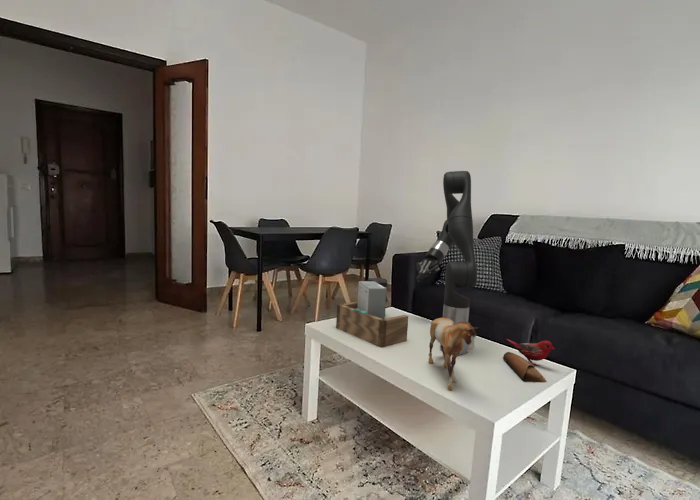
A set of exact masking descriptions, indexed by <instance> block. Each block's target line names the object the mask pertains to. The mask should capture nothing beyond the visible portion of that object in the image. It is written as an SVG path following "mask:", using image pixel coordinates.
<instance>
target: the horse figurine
mask: <svg viewBox="0 0 700 500" xmlns="http://www.w3.org/2000/svg"><path fill="white" fill-rule="evenodd" d="M477 329H479V327H476V326H475V327H474V326H472V325H471V322H469V321H468V322H458V323H456V324H454V322H453V321H452V320H451V319H448V318H443V317H439V318H435V319H434V320H432V321H431V324H430V330H429V334H430V335H429V336H430V342H429V345H428V347H429V353H428V363H429V364H433V363H434V359H433V354H432V352H433V351H432V350H433V348H434V343H435V341H437V343H439V345H440V344H441V349H442V350H441V349H440V350H441V352H442V359H443V361H444V362H443V363H442V367H443V369H447V371H448V383H447V390H448V391H452V390H453V383H457V379H456V377H455V372H454V367H455V365H456V363H457V358H458V356H460V355H459V353H460V351H461V350H462V349H463V346H464V344H463V339H464V340H465V342H466V344H467V345H468V351H473V350H474V348H475V338H476V336H477V333H476V330H477ZM451 356H452V357H451Z"/></svg>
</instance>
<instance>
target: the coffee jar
mask: <svg viewBox="0 0 700 500" xmlns="http://www.w3.org/2000/svg"><path fill="white" fill-rule="evenodd" d="M366 281H374V282H376V283H378V284H380V285H382V286H383V287H385V288H386V291H387V289H388V280H387V279H386V278H385V277H384V278H383V277H371V278H370V277H369V278H367V280H366Z"/></svg>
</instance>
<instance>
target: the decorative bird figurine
mask: <svg viewBox="0 0 700 500" xmlns="http://www.w3.org/2000/svg"><path fill="white" fill-rule="evenodd" d="M505 340H506V341H507V342H508V343H510V344H511V345H513V347H515V348H516V350H517V351H518V352H519V354H521V355H522V356H524V357H525V359H526V360H527V361H529V362H530V363H532V364H533V365H534V366H538V367H540V364H537V363H536V361H537V362H538V361H543V360H544V359H546V358H547V357H548V355H549V354H550V353H551V351H552V350H555V348H554V346H553V343H552V342H551V341H549V340H541V341H539V342H537V343H536V342H535V343H534V342H533V343H532V342H527V343H525V342H523V343H517V342H515V341H512V340H510V339H508V338H505ZM533 361H534V362H533Z"/></svg>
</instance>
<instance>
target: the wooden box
mask: <svg viewBox="0 0 700 500" xmlns="http://www.w3.org/2000/svg"><path fill="white" fill-rule="evenodd" d="M357 302H358V300H357V301H352V302H345V303H339V304H337V305H336V318H335V319H336V321H335V323H336V324H335V328H336V329H338V330H340V331H342V332H344V333H346V334H347V333H348V334H350V335H352V336H354V337H356V338H359V339H361V340H363V341H365V342H368V343H370V344H373V345H375V346H377V347H379V348H385V347H389V346H393V345H396V344H401V343H403V342H407V341H408V340H407V339H408V329H409V328H408V327H409V326H408V325H409V315H407V314H402V315H397V316H392V317H387V318H386V317H385V318H384V319H381V318H379V317H376V316H373V315H370V314H368V312H366V311H363V310H360V309H358V308H357Z"/></svg>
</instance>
